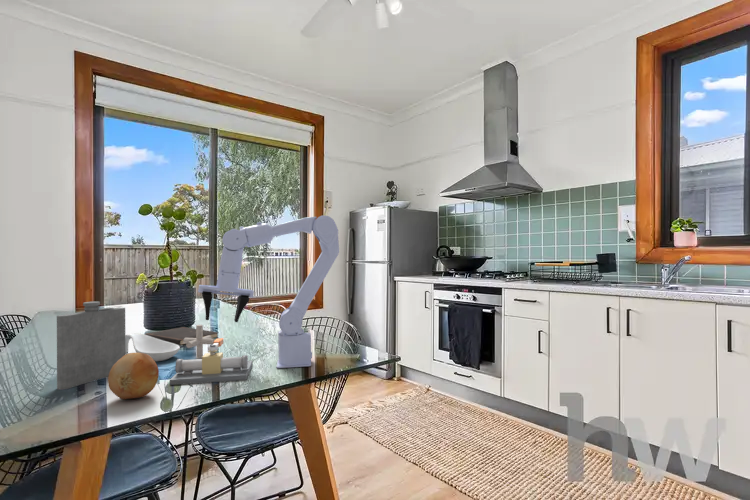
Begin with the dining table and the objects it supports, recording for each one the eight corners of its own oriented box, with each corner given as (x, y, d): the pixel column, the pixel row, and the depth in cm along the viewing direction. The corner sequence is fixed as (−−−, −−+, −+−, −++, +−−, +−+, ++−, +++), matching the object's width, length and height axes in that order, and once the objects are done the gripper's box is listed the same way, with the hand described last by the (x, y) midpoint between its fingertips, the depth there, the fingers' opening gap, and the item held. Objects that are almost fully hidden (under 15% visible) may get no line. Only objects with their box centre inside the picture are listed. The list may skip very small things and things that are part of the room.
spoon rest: (188, 357, 126) (188, 334, 126) (154, 367, 115) (154, 341, 115) (136, 350, 135) (136, 329, 135) (100, 359, 124) (100, 336, 124)
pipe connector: (204, 362, 118) (203, 328, 118) (174, 361, 120) (174, 327, 120) (223, 354, 128) (223, 322, 128) (195, 352, 130) (195, 322, 130)
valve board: (252, 364, 115) (252, 342, 115) (246, 379, 101) (246, 354, 101) (185, 368, 112) (185, 346, 112) (169, 384, 98) (169, 359, 98)
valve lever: (216, 352, 104) (216, 345, 104) (206, 353, 103) (206, 346, 103) (224, 343, 115) (224, 337, 115) (215, 343, 114) (215, 337, 114)
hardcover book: (183, 332, 167) (183, 327, 167) (218, 338, 155) (218, 332, 155) (144, 339, 153) (144, 333, 153) (179, 346, 141) (179, 340, 141)
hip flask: (61, 390, 95) (61, 305, 95) (52, 388, 97) (51, 305, 97) (128, 372, 109) (127, 298, 109) (119, 370, 111) (118, 298, 111)
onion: (103, 409, 83) (103, 361, 83) (112, 394, 92) (112, 350, 92) (156, 402, 87) (156, 356, 87) (160, 388, 96) (160, 346, 96)
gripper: (253, 274, 119) (246, 319, 119) (200, 267, 113) (192, 315, 112) (257, 276, 113) (250, 324, 112) (202, 269, 106) (194, 320, 106)
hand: (221, 320), depth 112 cm, fingers open, 7 cm apart
